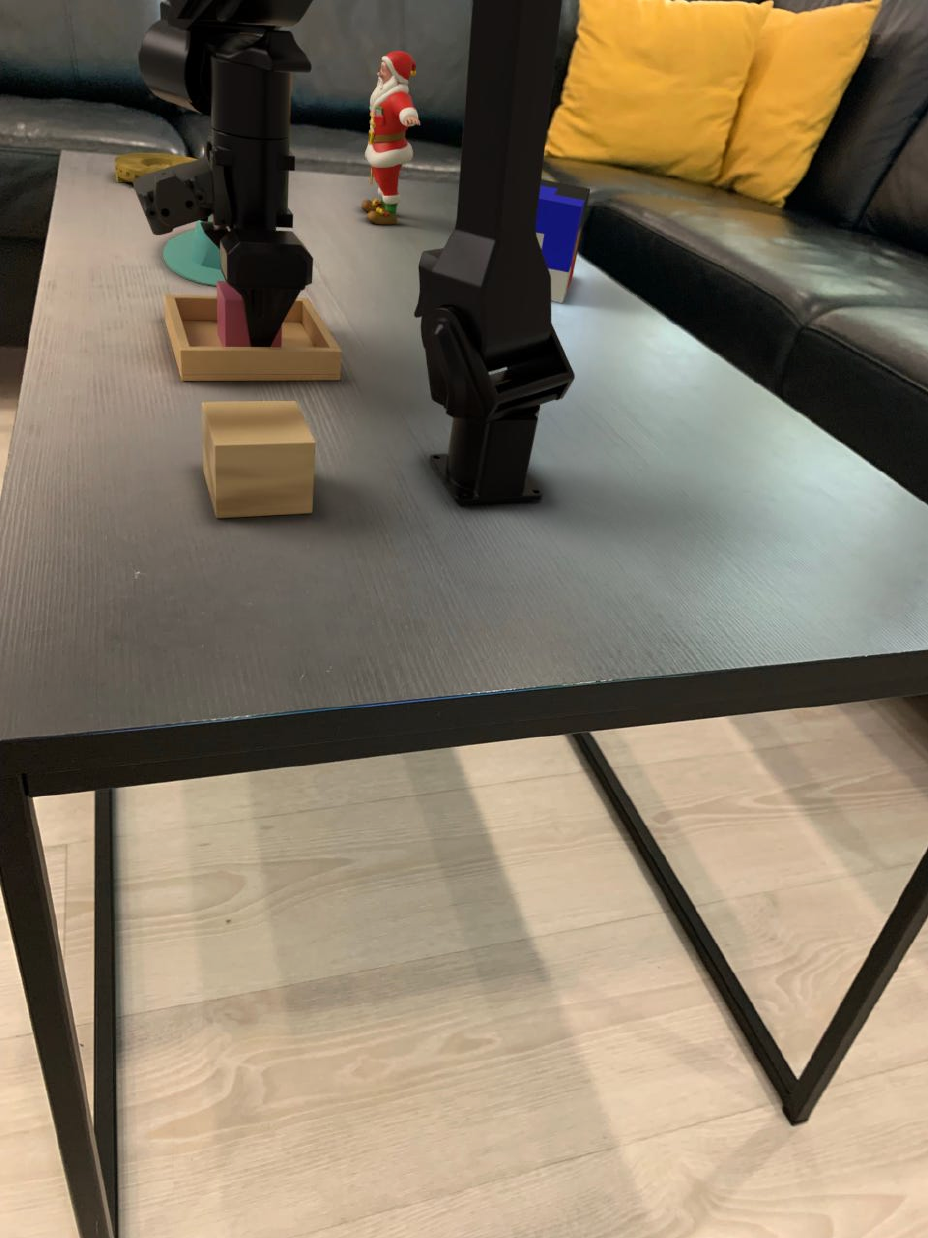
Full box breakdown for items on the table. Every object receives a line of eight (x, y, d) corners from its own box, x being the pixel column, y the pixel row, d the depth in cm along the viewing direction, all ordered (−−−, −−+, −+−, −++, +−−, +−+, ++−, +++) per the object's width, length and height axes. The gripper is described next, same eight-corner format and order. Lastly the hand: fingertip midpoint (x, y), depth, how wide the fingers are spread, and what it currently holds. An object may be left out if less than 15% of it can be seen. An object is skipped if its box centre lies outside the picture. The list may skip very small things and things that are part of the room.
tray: (339, 380, 77) (341, 351, 76) (181, 381, 73) (180, 349, 71) (307, 324, 86) (308, 297, 85) (165, 322, 82) (164, 293, 80)
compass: (233, 188, 122) (233, 170, 121) (163, 199, 113) (163, 180, 112) (167, 166, 126) (166, 149, 125) (95, 175, 118) (93, 156, 116)
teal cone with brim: (284, 235, 108) (286, 154, 103) (279, 292, 92) (281, 200, 87) (175, 224, 106) (171, 140, 101) (151, 279, 90) (145, 184, 85)
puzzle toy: (562, 303, 102) (581, 206, 97) (473, 284, 103) (487, 188, 97) (572, 278, 111) (590, 188, 105) (489, 262, 111) (503, 171, 106)
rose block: (281, 355, 78) (282, 301, 76) (225, 355, 77) (224, 299, 74) (271, 335, 82) (272, 282, 79) (217, 334, 80) (216, 280, 77)
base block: (312, 513, 60) (316, 442, 57) (216, 518, 58) (214, 445, 55) (293, 468, 64) (296, 400, 61) (203, 471, 62) (201, 401, 59)
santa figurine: (350, 191, 130) (360, 34, 119) (391, 195, 131) (405, 40, 120) (374, 244, 111) (389, 62, 100) (422, 248, 112) (442, 70, 101)
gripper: (127, 96, 74) (140, 295, 83) (148, 150, 60) (160, 381, 69) (269, 110, 78) (266, 298, 87) (319, 164, 64) (309, 380, 73)
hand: (249, 335), depth 79 cm, fingers open, 8 cm apart
